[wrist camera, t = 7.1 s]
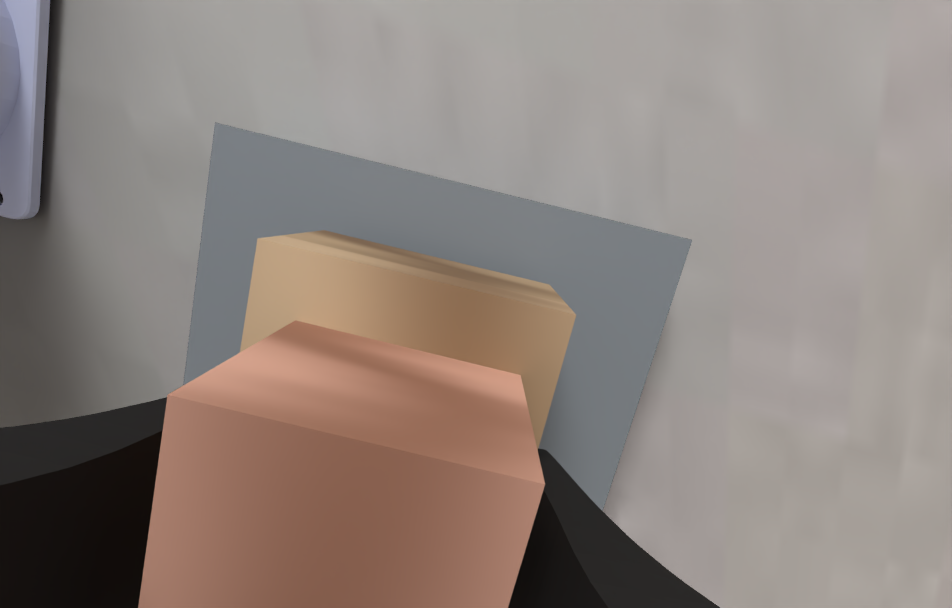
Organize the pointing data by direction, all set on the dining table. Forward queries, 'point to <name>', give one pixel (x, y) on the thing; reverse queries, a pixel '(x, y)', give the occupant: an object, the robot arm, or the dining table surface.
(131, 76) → the dining table surface
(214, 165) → the dock
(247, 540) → the salmon pink block
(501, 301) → the tan boxy piece
